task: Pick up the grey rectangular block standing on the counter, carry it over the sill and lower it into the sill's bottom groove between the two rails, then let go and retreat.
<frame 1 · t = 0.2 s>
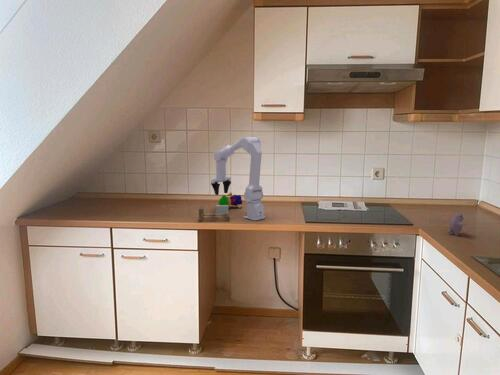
hand: (221, 193, 221), 10 cm above the worktop, tool pointing down, fingers open, 7 cm apart
sill track: (214, 219, 200), on the worktop
figurine: (454, 235, 174), on the worktop
toy: (230, 208, 228), on the worktop
grey rectangular block: (222, 216, 208), on the worktop
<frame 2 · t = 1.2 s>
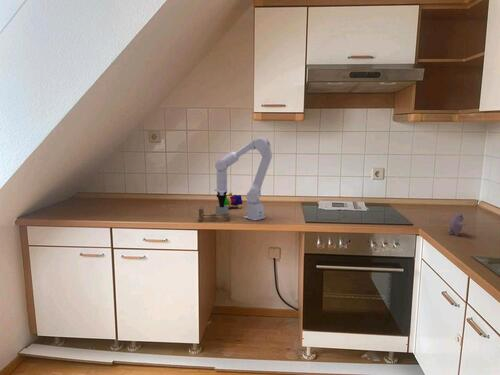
hand: (221, 205, 207), 6 cm above the worktop, tool pointing down, fingers open, 7 cm apart
nothing on the worktop moved.
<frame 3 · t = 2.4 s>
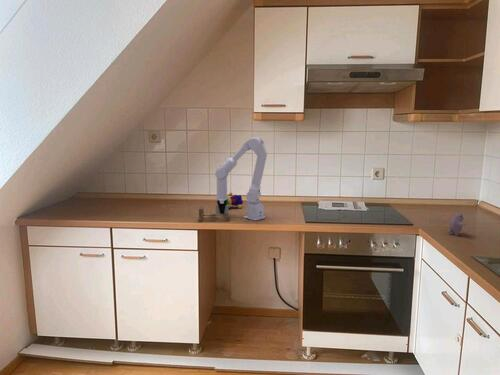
hand: (222, 213, 208), 1 cm above the worktop, tool pointing down, fingers closed on grey rectangular block, 2 cm apart
grey rectangular block: (222, 216, 208), on the worktop, touching gripper
everything else where it was.
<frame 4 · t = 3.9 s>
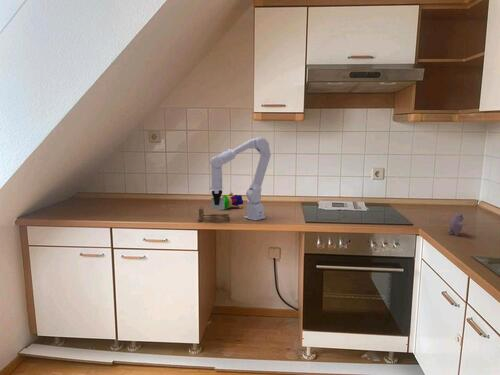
hand: (217, 204, 199), 8 cm above the worktop, tool pointing down, fingers closed on grey rectangular block
grey rectangular block: (217, 209, 199), point 6 cm above the worktop, touching gripper
everything else where it was.
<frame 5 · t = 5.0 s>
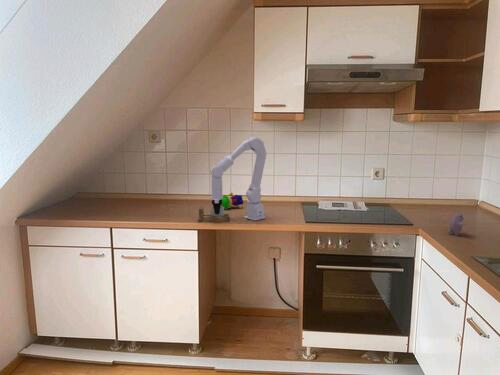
hand: (217, 213, 199), 3 cm above the worktop, tool pointing down, fingers closed on grey rectangular block, 2 cm apart
grey rectangular block: (217, 218, 200), point 1 cm above the worktop, touching gripper, sill track
everything else where it was.
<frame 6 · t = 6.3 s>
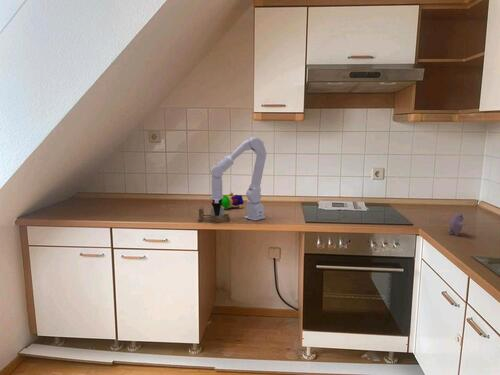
hand: (217, 213, 199), 3 cm above the worktop, tool pointing down, fingers open, 7 cm apart
grey rectangular block: (217, 218, 200), point 1 cm above the worktop, touching sill track
everything else where it was.
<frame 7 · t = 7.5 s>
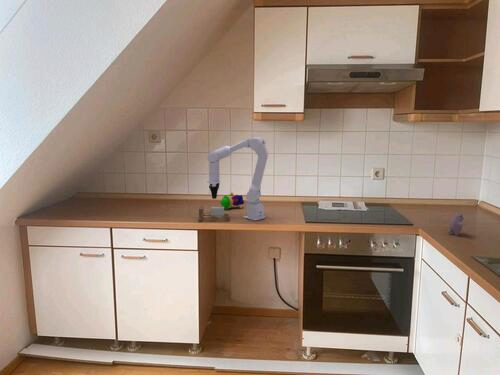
hand: (214, 197, 208), 10 cm above the worktop, tool pointing down, fingers open, 7 cm apart
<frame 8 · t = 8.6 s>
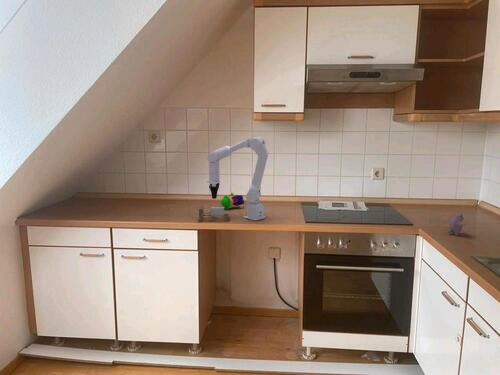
hand: (214, 197, 208), 10 cm above the worktop, tool pointing down, fingers open, 7 cm apart
at the end: grey rectangular block 0.1 cm from the target spot, point 0.8 cm above the worktop; grey rectangular block tilted 0°; the gripper is holding nothing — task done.
